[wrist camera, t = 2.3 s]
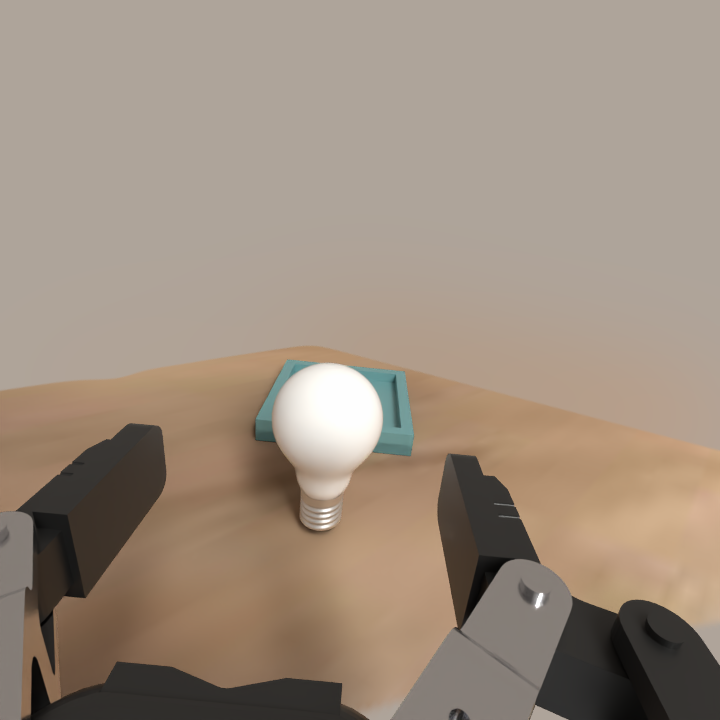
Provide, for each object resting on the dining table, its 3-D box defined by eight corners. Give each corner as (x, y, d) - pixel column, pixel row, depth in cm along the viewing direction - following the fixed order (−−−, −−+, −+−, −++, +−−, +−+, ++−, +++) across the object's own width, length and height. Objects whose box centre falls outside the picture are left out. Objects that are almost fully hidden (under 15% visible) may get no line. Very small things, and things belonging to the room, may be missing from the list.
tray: (255, 440, 35) (255, 419, 34) (286, 375, 47) (287, 359, 46) (410, 456, 35) (414, 435, 34) (402, 387, 47) (404, 371, 46)
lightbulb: (249, 522, 27) (247, 362, 22) (320, 478, 31) (330, 339, 27) (319, 583, 23) (334, 407, 19) (388, 523, 28) (411, 371, 24)
